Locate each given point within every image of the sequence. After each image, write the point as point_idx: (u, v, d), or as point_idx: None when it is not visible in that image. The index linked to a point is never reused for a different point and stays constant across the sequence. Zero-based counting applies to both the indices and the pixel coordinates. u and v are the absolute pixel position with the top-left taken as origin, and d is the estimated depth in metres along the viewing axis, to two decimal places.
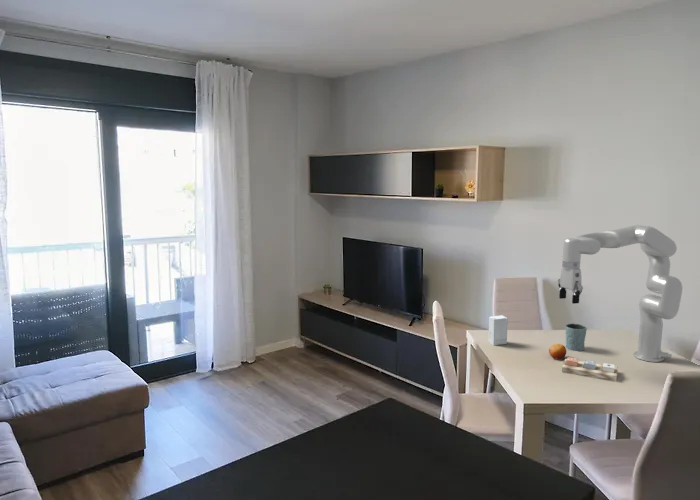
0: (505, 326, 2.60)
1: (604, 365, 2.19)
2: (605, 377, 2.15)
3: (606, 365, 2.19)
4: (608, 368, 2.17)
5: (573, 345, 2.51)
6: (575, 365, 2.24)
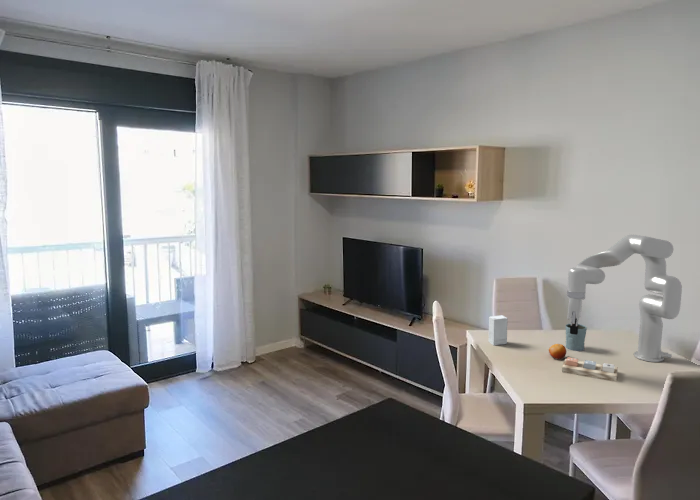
0: (505, 326, 2.60)
1: (604, 365, 2.19)
2: (605, 377, 2.15)
3: (606, 365, 2.19)
4: (608, 368, 2.17)
5: (573, 345, 2.51)
6: (575, 365, 2.24)
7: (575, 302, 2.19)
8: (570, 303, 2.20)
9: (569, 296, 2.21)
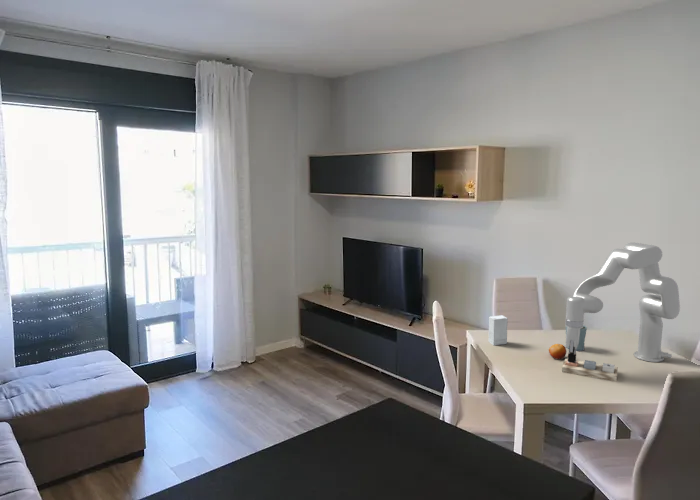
0: (505, 326, 2.60)
1: (604, 365, 2.19)
2: (605, 377, 2.15)
3: (606, 365, 2.19)
4: (608, 368, 2.17)
5: None
6: None
7: (573, 330, 2.20)
8: (568, 332, 2.21)
9: (567, 325, 2.23)
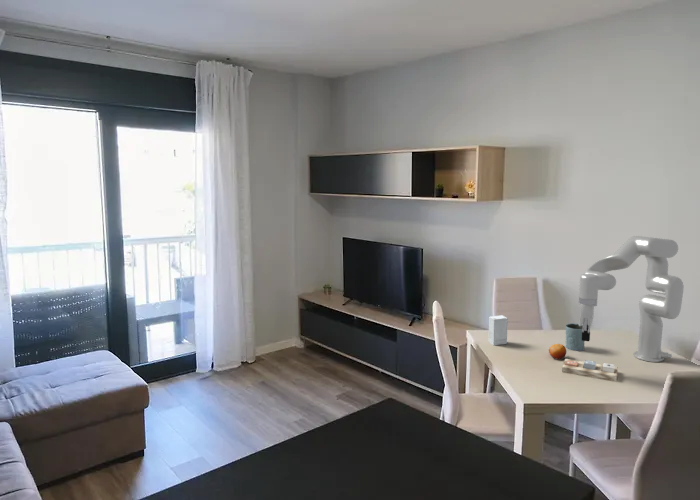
0: (505, 326, 2.60)
1: (604, 365, 2.19)
2: (605, 377, 2.15)
3: (606, 365, 2.19)
4: (608, 368, 2.17)
5: (573, 345, 2.51)
6: None
7: (586, 308, 2.16)
8: (582, 310, 2.18)
9: (581, 303, 2.19)
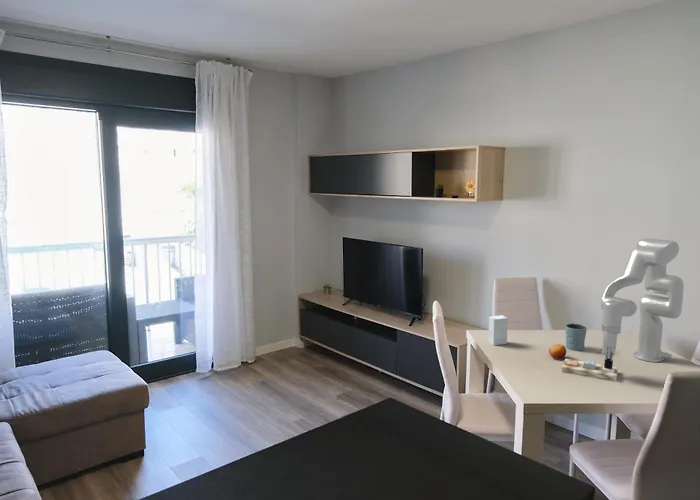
0: (505, 326, 2.60)
1: (604, 368, 2.19)
2: (605, 377, 2.15)
3: (606, 368, 2.19)
4: (608, 371, 2.17)
5: (573, 345, 2.51)
6: None
7: (610, 336, 2.13)
8: (605, 337, 2.14)
9: (604, 330, 2.15)
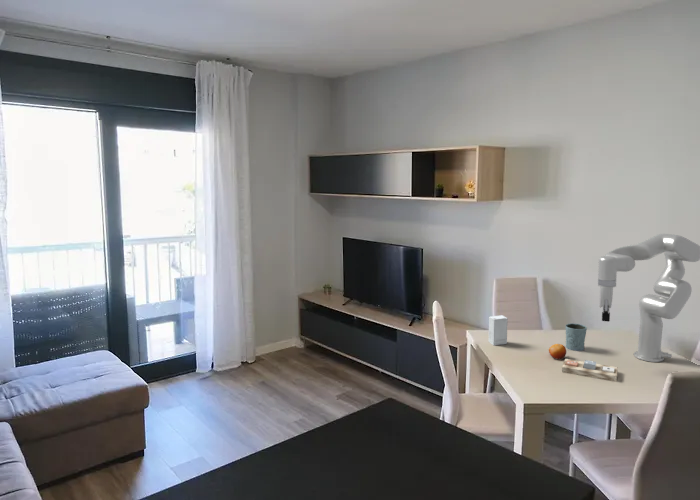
0: (505, 326, 2.60)
1: (604, 368, 2.19)
2: (605, 377, 2.15)
3: (606, 368, 2.19)
4: (608, 371, 2.17)
5: (573, 345, 2.51)
6: None
7: (607, 289, 2.23)
8: (602, 291, 2.24)
9: (600, 284, 2.26)
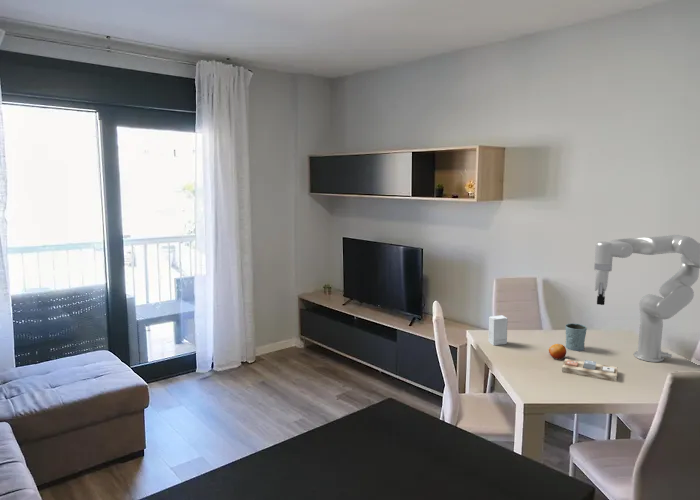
0: (505, 326, 2.60)
1: (604, 368, 2.19)
2: (605, 377, 2.15)
3: (606, 368, 2.19)
4: (608, 371, 2.17)
5: (573, 345, 2.51)
6: None
7: (602, 273, 2.32)
8: (598, 275, 2.33)
9: (596, 268, 2.34)
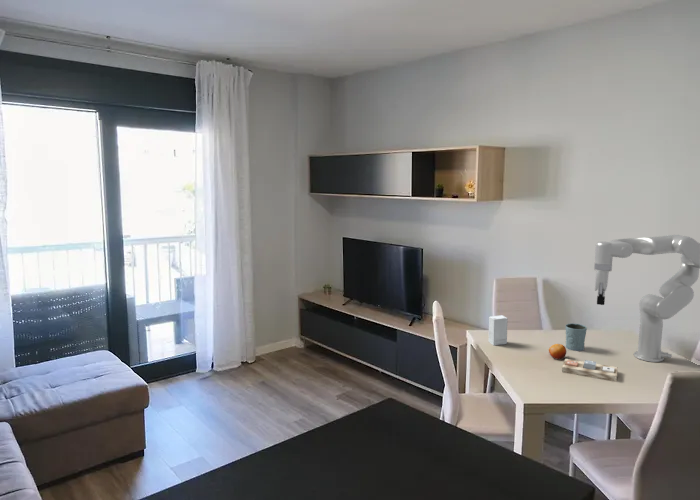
0: (505, 326, 2.60)
1: (604, 368, 2.19)
2: (605, 377, 2.15)
3: (606, 368, 2.19)
4: (608, 371, 2.17)
5: (573, 345, 2.51)
6: None
7: (602, 273, 2.32)
8: (598, 275, 2.33)
9: (596, 268, 2.34)
